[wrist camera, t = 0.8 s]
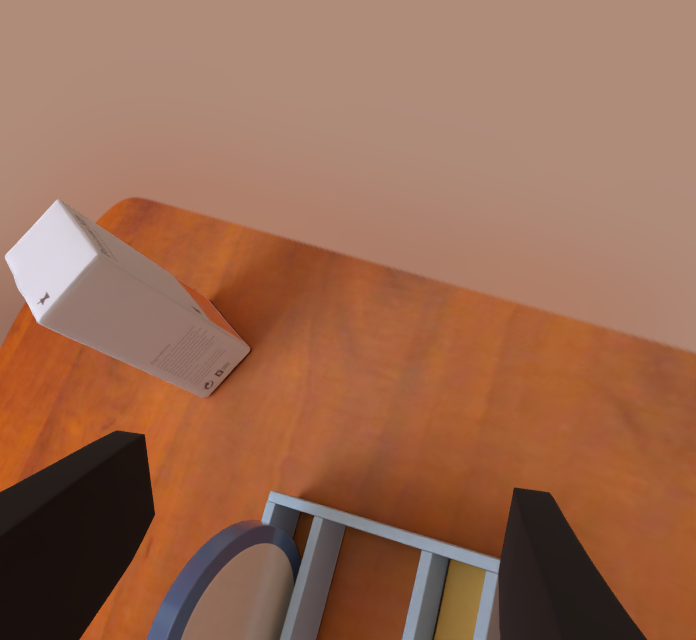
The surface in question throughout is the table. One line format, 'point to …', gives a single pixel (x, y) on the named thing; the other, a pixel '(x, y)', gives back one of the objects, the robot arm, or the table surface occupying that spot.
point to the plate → (232, 587)
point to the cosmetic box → (121, 302)
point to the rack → (459, 594)
